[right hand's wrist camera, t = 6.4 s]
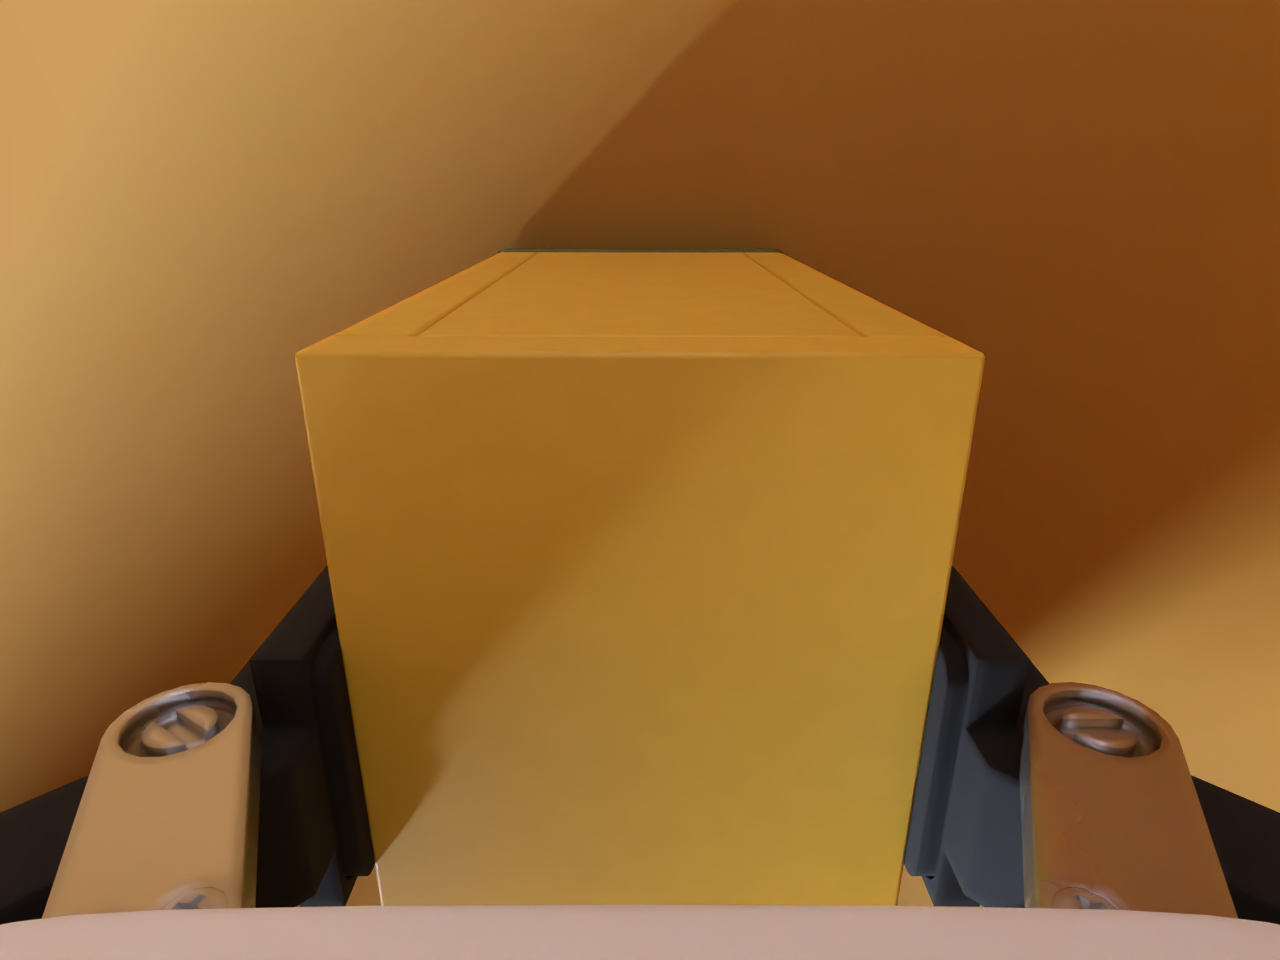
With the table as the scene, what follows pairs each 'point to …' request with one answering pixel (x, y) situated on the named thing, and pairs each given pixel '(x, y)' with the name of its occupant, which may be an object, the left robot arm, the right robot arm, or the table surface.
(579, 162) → the table surface
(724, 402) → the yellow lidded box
